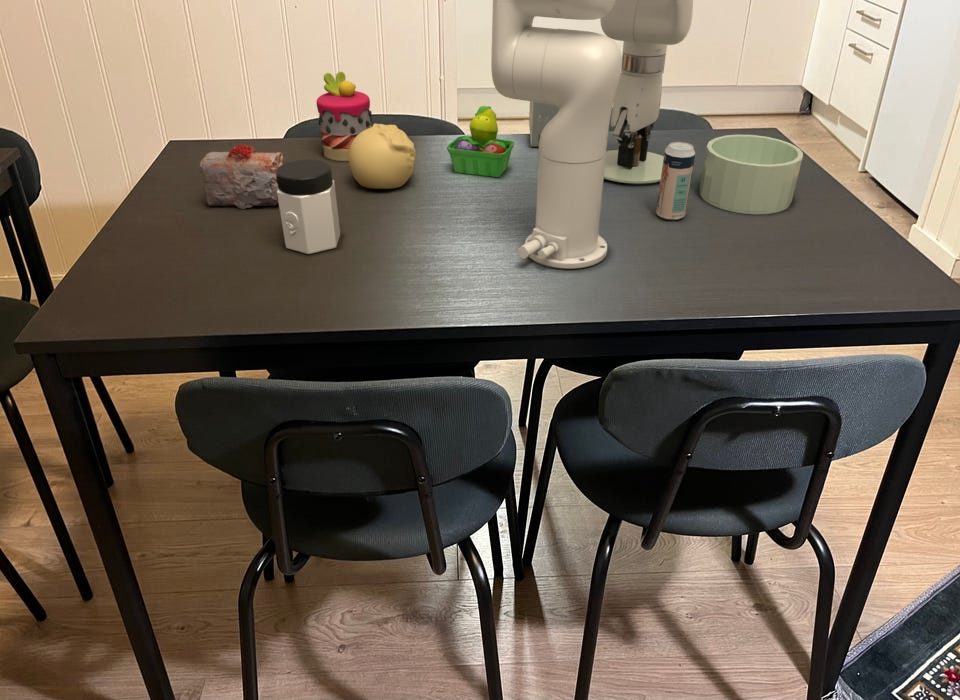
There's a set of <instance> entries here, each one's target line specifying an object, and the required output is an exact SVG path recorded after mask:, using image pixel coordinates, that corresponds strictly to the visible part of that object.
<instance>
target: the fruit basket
mask: <svg viewBox="0 0 960 700" xmlns="http://www.w3.org/2000/svg"><path fill="white" fill-rule="evenodd" d="M474 115H475V116H474V117H473V118H472V119H471V120H470V122H469V126H468V127H469V132H470V135H471V136H469V135H460V136H458V137H456V138H455V139H454V140H453V141H451V142H450V143H449V144H448V145H446V149H447V152H448V154H449V157H450V160H451V163H452V167H453V170H454V172H455V173H458V174H459V173H460V174H467V175H478V176H484V177H489V176H490V177H493V178H501V175H503V173H504V172H505V171H506V170H507V169H508V166H509V163H510V159H511V154H512V151H513V148H514V147H515V141H514V140H508V139H502V138H501V139H500V138H498V137H497V135H498V132H499V127H498V121H497V114H496V112H495V111H494V110H493V109H492V106H489V105H481V106H479V108H478V109H477V111H476V113H474Z"/></svg>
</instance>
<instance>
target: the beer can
mask: <svg viewBox="0 0 960 700" xmlns="http://www.w3.org/2000/svg"><path fill="white" fill-rule="evenodd" d="M663 156H664V160H663V167H662V174H661V181H659V189H658V196H657V203H656V209H655V210H656V211H655V212H656V215H657V216H658V217H659V218H661V219H663V220H667V221H678V220H680V219H682V218H684V217H685V216H686V213H687V206H688V200H689V194H690V189H691V182H692V177H693V176H692V175H693V169H694V164H695V159H696V151H695V148H694V146H693V144H692V143H688V142H684V141H673V142H670V143H668V144H667V146H666V147H665V149H664V154H663Z"/></svg>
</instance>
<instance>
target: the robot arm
mask: <svg viewBox="0 0 960 700" xmlns="http://www.w3.org/2000/svg"><path fill="white" fill-rule="evenodd" d="M693 12H694V0H492V14H491V15H492V16H491V20H492V21H491V24H492V25H491V55H490V57H491V61H490V63H491V78H492V83H493V86H494V89H495V90H496V91H497V92H498V93H499V94H500V95H501V96H503V97H505V98H508V99H512V100H517V101H525V102H530V101H532V102H540V103H547V104H551V105H556V106H558V107H559V111H558V113H557V114H556V115H555V116H554V117H553V118H552V119H551V120H550V121H549V122H548V123H547V125H546V126H545V127H544V129H543V131H542V133H541V136H540V141H539V146H538V160H537V161H538V162H537V163H538V164H537V183H536V185H537V186H536V207H535V209H536V210H535V227H534V228H533V229H532V232H531V233H530V234H529V235H528V236H527V237H526V239H525V240H524V243H523V244H522V245H520V246H519V247H518V248H517V253H518V256H519V257H520V258H521V259H527V258H529V259H531V260H532V261H534V262H535V263H538V264H540V265H543V266H546V267H550V268H553V269H554V268H555V269H561V270H562V269H565V270H573V269H583V268H588V267H592V266H595V265H596V264H599V263H600V262H602V261H603V260H604V259H605V258H606V256H607V254H608V243H607V241H606V240H605V239H604V237H602V236H601V235H600V234H599V231H600V221H601V212H602V211H601V210H602V201H603V190H604V180H605V179H604V170H605V160H606V151H607V149H608V139H609V130H610V126H611V128H612V129H614V130H613V133H612V136H613V137H614V138H615V139H616V140H617V145H618V149H617V150H618V159H617V165H618V166H622V167H626V168H629V169H631V168H633V164H634V156H635V147H633V146H634V141H635V136H636V134H639V135H642V142H641V151H640V159H639V161H642V162H644V161H646V157H647V152H648V150H649V149H648V147H649V140H650V139H651V133H652V130H653V128H654V124H655V123H656V121H657V120H658V118H659V114H660V109H661V101H662V90H663V74H664V73H665V65H666V57H667V51H668V50H667V49H668V46H675V45H677V44H680V43H681V42H683V41H684V40H685V39H686V37H687V36H688V34H689V33H690V29H691V26H692V20H693ZM536 17H539V18H540V17H541V18H550V19H551V18H552V19H562V20H579V21H595V20H599V19H600V27H601V30H602V33H603V34H602V33H598V32H595V31H589V30H579V29H578V30H577V29H567V28H553V27H552V28H551V27H540V26H539V27H538V26H533V24H534V23H533V22H534V19H535V18H536ZM616 41H620V42H622V43H623V45H622V51H621V49H620V46H619V45H618V43H616ZM627 127H629V128H627ZM628 134H630V138H629V137H628V136H627V135H628Z"/></svg>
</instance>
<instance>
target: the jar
mask: <svg viewBox="0 0 960 700" xmlns="http://www.w3.org/2000/svg"><path fill="white" fill-rule="evenodd" d="M276 180H277V184H278V188H279V189H278V191H277V196H278V202H279V203H278V207H279V208H278V209H279V214H280V220H281V226H282V227H281V228H282V233H283V238H284V244H285V248H286V249H287V250H292V251H295V252H299V253H302V254H305V255H312V254H316V253H321V252H326V251H329V250H333V249H337V246H338V244H339V241H340V237H341V228H340V227H341V226H340V219H339V211H338V202H337V193H336V184H335V180H334V179H333V171H332V167H331V164H329V163H328V162H326V161H323V160H319V159H310V158H309V159H297V160H292V161H288V162H284V163H282V165H281V166H280V167H278V168H277V170H276Z"/></svg>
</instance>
